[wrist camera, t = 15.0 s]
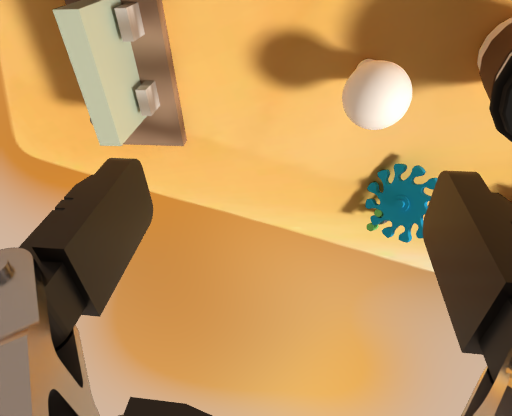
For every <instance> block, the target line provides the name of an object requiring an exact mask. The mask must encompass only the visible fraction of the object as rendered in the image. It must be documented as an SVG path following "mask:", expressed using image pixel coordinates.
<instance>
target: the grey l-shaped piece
mask: <svg viewBox="0 0 512 416" xmlns="http://www.w3.org/2000/svg"><path fill="white" fill-rule="evenodd" d="M77 1H80V0H65V3H66V5H68V4H71V3H74V2H77ZM121 4H122V5H121V6H118V7H116V8H114V9H115V13H116V17H117V21H118V25H119V29H120V33H121V37H122V41H123V42H131V46H132V50H133V54H134V58H135V62H136V66H137V70H138V74H139V79H140V83H141V85H140V86H139V87H138V88H137V89H136V90H135V92H136V96H137V99H138V103H139V107H140V111H141V115H142V116H147V117H146V118H145V119H144V120H143V121H142V122H141V124H140V125H139V126H138V127H137V128H136V129H135V131H134V132H133V133H132V134H131V135H130V136H129V138H128V139H127V140H126V141H125V142H124V143H123V144H133V145H166V146H184V144H185V143H186V141H187V139H186V133H185V128H184V122H183V117H182V111H181V105H180V100H179V94H178V89H177V83H176V77H175V72H174V66H173V61H172V55H171V49H170V44H169V38H168V32H167V27H166V21H165V16H164V10H163V4H162V0H121Z"/></svg>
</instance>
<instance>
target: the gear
mask: <svg viewBox="0 0 512 416" xmlns="http://www.w3.org/2000/svg"><path fill="white" fill-rule="evenodd" d="M406 169H407V165H405V164H395V165H394V171H395V177H394V180H393V182H392V183H391V184H390V183H389V182H388V178H389V176H390V171H389V170H382V171H380V172H378V177H379V178H380V179H381V181H382V183H383V187H384V191H383V192H380V190H379V184H378V183H377V182H372V183H371V184H370V185H369V186H368V188H367V189H368V191H370V192H372V193H374V194H376V195H377V196H378V198H379V199H380V205H379V204H377V203H376V201H375V200H374V199H372V198H371V199H367V201H366V206H365V207H366V208H368V209H370V208H376V209H377V210H375V212H374V214H375V215H373V216H371V222H372V223H369V224H368V225H367V229H368V230H369V231H373V230H375V229H377V228H378V224H383V223H386V222H387V221H391V222H392V227H387V228H384V229H383V230H382V232H383V234H384V235H385V236H386V237H387V238H389V237H391V236H393V235H394V232H395V230H396V228H397V227H398V226H400V225H403V226H404V227H405V232H403V233H402V234H400V235H399V240H401V241H403V242H409V241H411V239H412V236H411V228H412V225H413V224H414V223H416V224H417V225H418V227H419V228H418V230H417V232H416V235H417V237H418V238H423V215H424V214H426V211H427V208H428V206H427V202H428V201H430V199H431V196H428V195H426V194H425V193H424V188H425V187H427V188H429V189H434V188H435V185H436V182H437V178H431V179H429V180H428V181H427V182H426V183H424V184H415V183H414V178H415V177H418V176H422V175H424V174H425V172H426V171H425V170H424V169H423V168H422V167H421V166H419V165H418V166H415V167H414V168H413V169H412V172H411V175H410V176H409V177H408V178H407V179H406V180H404V181H403V180H402V179H401V177H400V176H401V174H402V173H403V172H405V171H406Z"/></svg>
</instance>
